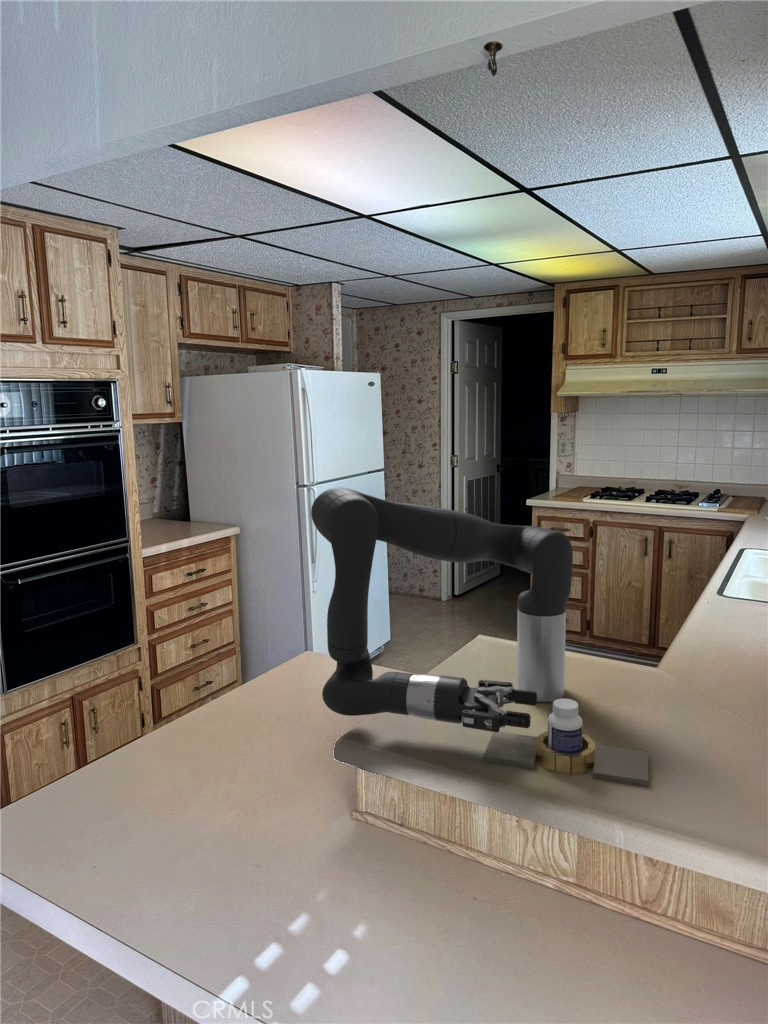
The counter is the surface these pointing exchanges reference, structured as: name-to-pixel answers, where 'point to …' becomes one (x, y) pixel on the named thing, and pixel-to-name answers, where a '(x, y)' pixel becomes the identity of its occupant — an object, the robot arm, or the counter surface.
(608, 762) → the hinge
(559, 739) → the pill bottle
